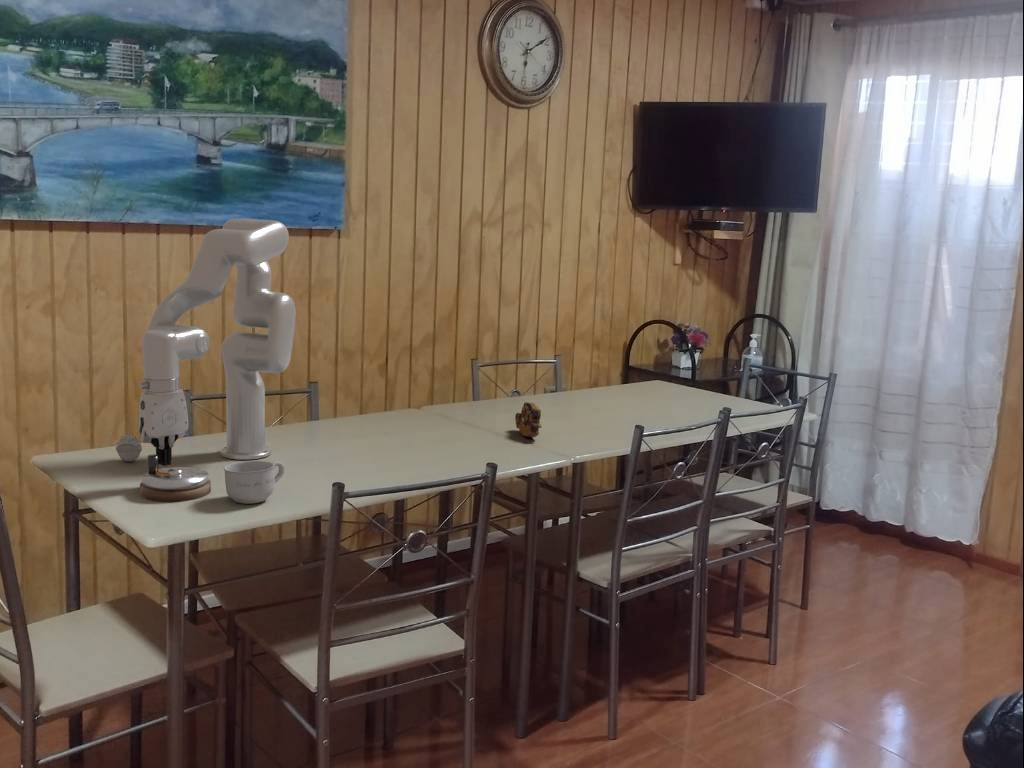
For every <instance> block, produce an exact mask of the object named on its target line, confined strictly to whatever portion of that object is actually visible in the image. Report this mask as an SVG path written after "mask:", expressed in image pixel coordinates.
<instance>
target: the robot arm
mask: <svg viewBox="0 0 1024 768" xmlns="http://www.w3.org/2000/svg"><path fill="white" fill-rule="evenodd" d="M289 235H290V234H289V230H288V228H287V227H286V225H285V224H284V223H282V222H280V221H278V220H271V219H270V220H269V219H256V218H255V219H254V218H232V219H229V220H227V221H225V222H224V224H223V226H222V227H221V228H216V229H212V230H210V231H208V232H207V233H206V234H205V235H204V236H203V238H202V241H201V244H200V247H199V249H198V252H197V254H196V257H195V259H194V261H193V263H192V266H191V268H190V271H189V273H188V277H187V279H186V280H185V281H184V282H183V283H182V284H181V285H179V286H178V287H177V288H175V289H174V290H172V292H170V293H169V294H168V295H167V296H166V297H165V298H164V299H163V300H162V301H161V302H159V304H158V305H157V306H156V309H155V310H154V312H153V314H152V317H151V320H150V322H149V324H148V327H147V330H146V331H145V332H144V333H143V335H142V365H143V366H142V367H143V369H142V370H143V378H142V382H139V383H138V388H139V389H140V390H142V389H143V391H142V392H141V393H140V398H139V399H140V401H139V405H138V406H139V407H138V432H139V434H140V439H139V441H140V443H141V442H142V443H143V444H151V445H152V446H153V447H154V448H155V454H156V455H158V465H160V466H163V467H167V466H171V465H172V458H173V456H172V453H173V451H172V448H173V447H174V446H175V443H176V442H177V440H178V439H179V438H182V437H184V436H186V432H187V431H189V416H188V414H189V413H188V407H187V402H186V397H185V392H184V390H183V388H182V389H181V387H180V361H181V360H182V361H183V360H197V359H199V358H201V357H203V356H205V354H206V353H207V352H208V350H209V349H210V344H211V343H210V342H211V341H210V340H211V339H210V337H209V335H208V333H207V332H206V331H205V330H204V329H202V328H201V327H198V326H191V325H183V324H177V322H178V321H179V320H180V318H182V316H184V315H185V314H186V313H188V312H189V311H191V310H194V309H196V308H198V307H200V306H203V305H205V304H208V303H212V302H213V301H215V300H217V299H219V298H221V296H222V295H223V291H224V289H225V287H226V285H227V282H228V279H229V276H230V274H231V271H232V270H233V267H234V266H236V283H235V288H234V289H235V291H234V298H233V307H232V315H233V320H234V321H235V323H236V324H237V325H238V326H241V327H245V328H254V329H262V330H264V329H265V330H268V331H267V333H268V334H265V333H264V334H263V333H255V332H245V331H241V332H240V331H239V332H234V333H231V334H228V335H227V336H226V337H225V339H224V340H223V342H222V345H221V356H222V357H221V358H222V361H223V362H222V363H223V368H224V375H225V387H226V388H225V391H226V393H225V394H226V397H225V398H226V399H225V400H226V407H225V409H226V414H225V415H226V446H225V447H222V448H221V449H220V456H221V457H223V458H227V459H229V460H230V459H231V460H241V461H243V460H244V461H245V460H246V461H250V460H257V459H262V458H266V457H269V456H270V455H271V453H272V449H271V448H270V447H269V446H267V445H266V443H265V442H266V428H265V426H266V423H265V422H266V420H265V419H266V417H265V416H266V411H265V410H266V409H265V408H266V403H265V402H266V399H265V397H266V389H265V388H266V387H265V383H264V381H263V378H262V376H261V374H260V373H266V374H267V373H269V374H270V373H271V374H279V373H283V372H285V370H287V369H288V367H289V364H290V362H291V357H292V351H293V344H294V336H295V328H296V318H297V314H296V313H297V312H296V311H297V310H296V306H295V305H296V304H295V302H294V299H293V298H292V297H291V296H290V295H289V294H287V293H285V292H279V291H271V286H272V275H273V273H272V269H271V267H270V264H269V261H270V260H272V259H274V258H276V257H279V256H280V255H281V254H283V253H284V252H285V250H286V249H287V247H288V245H289V243H290V236H289Z"/></svg>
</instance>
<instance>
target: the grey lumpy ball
mask: <svg viewBox="0 0 1024 768" xmlns="http://www.w3.org/2000/svg"><path fill="white" fill-rule="evenodd" d="M115 451H116V452H117V454H118V457H120V459H121V460H122V461H124V462H129V463H130V462H134V461H136V460H138V458H139V457H140V455H141V452H142V451H143V446H142V444H141V441H140V439H138V438H137V437H136V436H134V435H132V434H125V435H124V436H120V437H119V439H118V440H117V443H116V446H115Z"/></svg>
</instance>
